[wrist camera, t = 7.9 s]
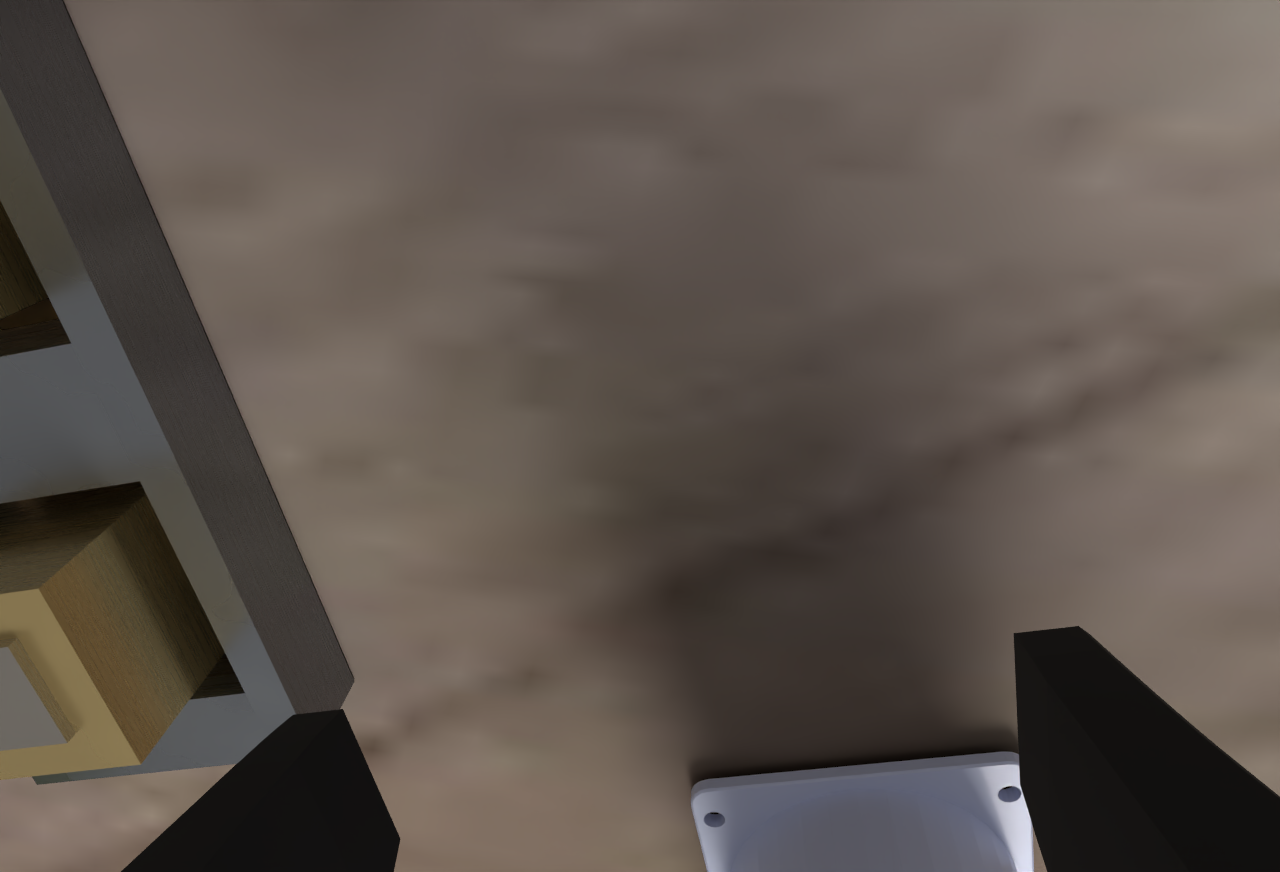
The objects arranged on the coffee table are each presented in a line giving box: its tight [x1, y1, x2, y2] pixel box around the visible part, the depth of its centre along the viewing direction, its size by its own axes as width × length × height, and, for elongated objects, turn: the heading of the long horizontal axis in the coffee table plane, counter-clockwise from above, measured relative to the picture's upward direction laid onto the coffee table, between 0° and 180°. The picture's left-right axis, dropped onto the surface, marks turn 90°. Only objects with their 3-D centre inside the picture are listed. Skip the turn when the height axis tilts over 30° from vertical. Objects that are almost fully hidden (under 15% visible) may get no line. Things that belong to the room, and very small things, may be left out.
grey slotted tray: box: [0, 0, 354, 785], centre depth 18 cm, size 17×7×2 cm, turn 12°
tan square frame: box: [0, 481, 225, 780], centre depth 19 cm, size 4×4×5 cm
